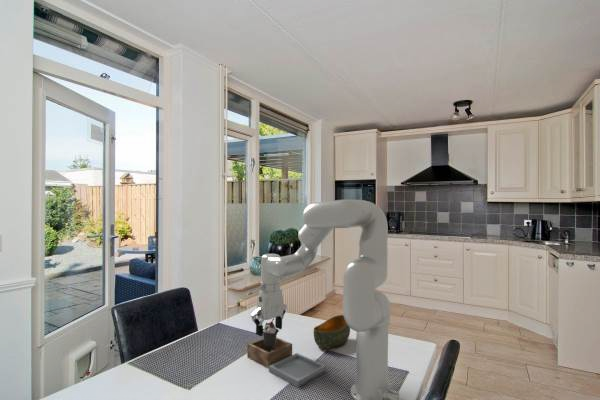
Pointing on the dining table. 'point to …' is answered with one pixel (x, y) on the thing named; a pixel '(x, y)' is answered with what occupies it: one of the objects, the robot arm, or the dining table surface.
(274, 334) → the sundae
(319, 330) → the green bowl
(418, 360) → the dining table surface
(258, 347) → the holder
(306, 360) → the tray
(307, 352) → the dining table surface
